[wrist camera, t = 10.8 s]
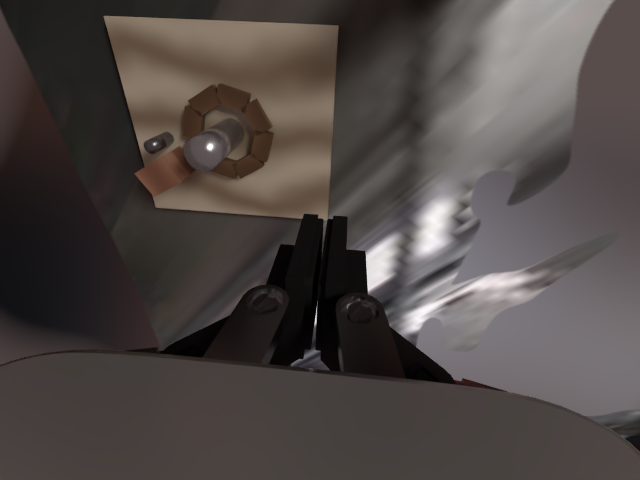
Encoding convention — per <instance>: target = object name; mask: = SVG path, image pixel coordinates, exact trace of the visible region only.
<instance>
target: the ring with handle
mask: <svg viewBox="0 0 640 480" xmlns="http://www.w3.org/2000/svg"><path fill="white" fill-rule="evenodd" d="M250 97H251V93H249V92H246V91H243V90H240V89H237V88H234V87H231V86H228V85H225V84H222V83H221V84H218V86H217V87H216V85H215V84H213V85H210V86H209V87H207V88H206V89H204V90H203V91H201V92H200V93H198V94H197V95H195V96H194V97H192V98H191V99H189V100H188V102H189V104H190V105H187V106H185V108H184V125H183V136H185V137H188V138H193V137H195V136H196V135H198V134H200V133H201V132H203V131H204V126H205V115H206V113H208V112H209V111H211V110H213V109H214V108H216V107H217V106H219V105H222V106H225V107H228V108H231V109H234V110H237V111H240V112H242V113H243V115H244V117H245V118H246V120H247V122H248V123H249V125H250V126H251V128H252V130H253V131H254V133H255V134H254V140H253V145H252V151H251V153H250V154H248V155H246V156H244V157H242V158H241V159H239V160H237V161H236V160H233V159H230V158H227V157H225V158H224V159H223V160H222V161H221V162H220V163H219V164H218V165H217V166H216V167H215V168H213V169H212V170H210V172H214V173H217V174H220V175H223V176H226V177H230V178H233V179H235V178H236V177H237V176H239V177H240V179H241V178H243V177H245V176H247V175H249V174H251V173H253V172H255V171H256V170H258V169H260V168H262V167H263V166H264V165H265V163H264V162H267V161H268V159H269V154H270V150H271V145H272V141H273V136H274V133H273V132H270V131H267V130H269V129H271V128H272V127H273V125H272V124H271V122H270V120H269V118H268V117H267V115H266V113H265V111H264V110H263V108H262V106H261V105H260V103H259V101H258V99H257V98H256V99H255V100H253V101H251V102H250ZM186 142H187V141H186ZM186 142H185V143H186ZM195 170H196V169H195V168H193V167H192V166H191V165H190V164H189V163H188V161H187V160H186V158H185V155H184V147H183V148H181V146H179V147H177V148H175V149H174V150H172V151H171V152H169V153H167V154H166V155H164V156H162V157H161V158H159V159H157V160H156V161H154V162H152V163H151V164H149V165H148V166H146V167H144V168H143V169H141V170H139V171H138V172H136V173H135V175H136V176H137V177H138V178H139V180H140V181H141V182H142V183H143V184H144V186H145V187H146V188H147V189H148V190H149V191H150V193H151V194H152V195H153V196H154V197H155V196H157V195H159V194H161V193H163V192H164V191H166V190H168V189H170V188H171V187H173V186H175V185H177V184H179V183H180V182H182V181H183V180H184V179H185V178H187V177H188V176H189V175H190V174H192V173H193V172H194V171H195Z"/></svg>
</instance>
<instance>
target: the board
mask: <svg viewBox="0 0 640 480" xmlns="http://www.w3.org/2000/svg"><path fill="white" fill-rule="evenodd" d="M104 19H105V23H106V27H107V30H108V34H109V38H110V41H111V45H112V49H113V52H114V56H115V60H116V63H117V67H118V71H119V74H120V78H121V82H122V85H123V89H124V93H125V96H126V100H127V104H128V107H129V111H130V115H131V118H132V122H133V126H134V129H135V133H136V137H137V140H138V144H139V148H140V151H141V155H142V159H143V162H144V166H145V167H146V166H148V165H149V164H151V163H152V162H154V161H156V160H157V159H159V158H161V157H162V156H164V155H166V154H167V153H169V152H171V151H172V150H174V149H175V148H177V147H179V146H181V148H183V147H184V146H185V144H186V143H185V142H186V141H188V140H190V139H191V138H188V137H185V136H183V125H184V108H185V106H187V105H190V104H189V102H188V100H189V99H191V98H192V97H194V96H195V95H197V94H198V93H200V92H201V91H203V90H204V89H206V88H207V87H209V86H210V85H213V84H215V85H216V87H217V86H218V84H221V83H222V84H225V85H228V86H231V87H234V88H237V89H240V90H243V91H246V92H249V93H251V97H250V102H251V101H253V100H255V99H256V98H257V99H258V101H259V103H260V105H261V106H262V108H263V110H264V111H265V113H266V115H267V117H268V118H269V120H270V122H271V124H272V125H273V127H272V128H271V129H269V130H267V131H270V132H273V133H274V136H273V141H272V145H271V150H270V154H269V159H268V161H267V162H264V163H265V165H264V166H263V167H262V168H260V169H258V170H256V171H255V172H253V173H251V174H249V175H247V176H245V177H243V178H241V179H240V177H239V176H237V177H236V178H235V179H233V178H230V177H226V176H223V175H220V174H217V173H214V172H210V171H199V170H197V169H196V170H195V171H194V172H193V173H192V174H190V175H189V176H188V177H187V178H185V179H184V180H183V181H182V182H180V183H179V184H177V185H175V186H173V187H171V188H170V189H168V190H166V191H164V192H163V193H161V194H159V195H157V196H155V197H154V196H153V199H154V203H155V206H156V208H168V209H181V210H194V211H208V212H221V213H234V214H247V215H260V216H274V217H287V218H300V219H303V215H304V214H318V218H322V219H323V220H326V221H327V219H328V206H329V188H330V171H331V153H332V135H333V117H334V100H335V82H336V64H337V46H338V29H339V26H338V25H316V24H292V23H267V22H242V21H217V20H192V19H168V18H143V17H118V16H104ZM225 118H232V119H235V120H237V121H238V122H239V123H240V124H241V125H242V127H243V129H244V133H245V136H244V140H243V142H242V143H241V144H240V145H239V146H238V147H236V148H235V149H234V150H233V151H232V152H231V153H230V154H229V155H228V156H227V158H230V159H233V160H236V161H237V160H239V159H241V158H242V157H244V156H246V155H248V154H250V153H251V151H252V145H253V140H254V134H255V133H254V131H253V130H252V128H251V126H250V125H249V123H248V122H247V120H246V118H245V117H244V115H243V113H242V112H240V111H237V110H234V109H231V108H228V107H225V106H222V105H219V106H217V107H216V108H214V109H213V110H211V111H209V112H208V113H206V115H205V126H204V131H205V130H206V129H208V128H209V127H211V126H213V125H214V124H216V123H218V122H219V121H221V120H223V119H225ZM163 132H169V133H171V134H172V135H173V137H174V142H173V143H172V144H171V145H169V146H167V147H165V148H164V149H162V150H160V151H158V152H157V153H155V154H150V153H148V152H147V151H146V150H145V149H144V142H145V141H147V140H149V139H151V138H153V137H155V136H157V135H159V134H161V133H163Z"/></svg>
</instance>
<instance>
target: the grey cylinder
mask: <svg viewBox="0 0 640 480" xmlns="http://www.w3.org/2000/svg"><path fill="white" fill-rule="evenodd" d="M244 136H245V133H244V129H243V127H242V125H241V124H240V123H239V122H238V121H237V120H235V119H232V118H225V119H223V120H221V121H219V122H218V123H216V124H214V125H213V126H211V127H209V128H208V129H206V130H205V131H203V132H201V133H200V134H198V135H196V136H195V137H193V138H191V139H190V140H188V141H187V142H186V144H185V146H184V155H185V158H186V160H187V161H188V163H189V164H190V165H191V166H192V167H193V168H195V169H197V170H199V171H210V170H212V169H213V168H215V167H216V166H217V165H218V164H219V163H220V162H221V161H222V160H223V159H224V158H225V157H227V156H228V155H229V154H230V153H231V152H232V151H233V150H234V149H235V148H236V147H238V146H239V145H240V144H241V143H242V142H243V140H244ZM173 142H174V137H173V135H172V134H171V133H169V132H163V133H161V134H159V135H157V136H155V137H153V138H151V139H149V140H147V141H145V142H144V149H145V150H146V151H147V152H148V153H150V154H155V153H157V152H158V151H160V150H162V149H164V148H165V147H167V146H169V145H171V144H172V143H173Z"/></svg>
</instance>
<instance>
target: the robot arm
mask: <svg viewBox="0 0 640 480" xmlns="http://www.w3.org/2000/svg"><path fill="white" fill-rule="evenodd" d="M322 239H323V219H322V218H318V214H304V215H303V219H302V222H301V226H300V229H299V233H298V236H297V240H296V243H295V245H284V244H281V245H280V247H279V250H278V253H277V256H276V258H275V261H274V264H273V267H272V269H271V272H270V275H269V278H268V281H267V283H266V285H260V286H257V287H254V288H252V289H250V290H249V291H247V292H246V293H245V294H244V295H243V297H242V298H241V300H240V301H239V303H238V304H237V306H236V307H235V309H234V310H233V312H232V313H231V315H230V316H228V317H225V318H223V319H221V320H219V321H217V322H215V323H213V324H211V325H209V326H207V327H205V328H203V329H201V330H199V331H197V332H195V333H193V334H191V335H189V336H187V337H185V338H183V339H181V340H179V341H176V342H175V343H173V344H171V345H170V346H168V347H167V348H166V349H165V350H164V351H159V349H158V347H155V348H145V349H133V350H123V351H118V350H97V349H96V350H95V349H92V350H67V351H57V352H48V353H43V354H38V355H33V356H28V357H24V358H20V359H17V360H13V361H10V362H7V363H5V364H1V365H0V480H640V452H639V451H638V450H637V449H636V448H635V447H634V446H633V445H632V444H631V443H629V442H628V441H627V440H625V439H624V438H623V437H621V436H620V435H618V434H617V433H616V432H614V431H612V430H611V429H609V428H607V427H605V426H604V425H602V424H600V423H598V422H596V421H594V420H592V419H590V418H588V417H586V416H584V415H581V414H579V413H576V412H574V411H572V410H569V409H567V408H564V407H562V406H559V405H556V404H553V403H550V402H547V401H543V400H540V399H537V398H533V397H529V396H524V395H520V394H515V393H510V392H507V391H504V390H500V389H497V388H493V387H490V386H487V385H483V384H480V383H477V382H473V381H470V380H467V379H464V378H463V379H462V381H461V382H460V381H456V380H454V379H453V378H452V377H451V375H450V374H449V373H448V372H447V371H446V370H445V369H443V368H442V367H441V366H439V365H438V364H437V363H436V362H434V361H433V360H432V359H430V358H429V357H428V356H427V355H425V354H424V353H423V352H421V351H420V350H419V349H418V348H416V347H415V346H414V345H413V344H411V343H410V342H409V341H407V340H406V339H405V338H404V337H402V336H401V335H400V334H398V333H397V332H396V331H395V330H393V329H392V328H391V327H390V326H389V323H388V320H387V317H386V314H385V311H384V308H383V306H382V304H381V303H380V302H379V301H378V300H377V299H376V298H374V297H372V296H370V295H368V290H367V272H366V254H365V251H358V250H346V243H347V217H344V216H333V219H328V220H327V227H326V234H325V241H324V247H323V254H322ZM321 260H322V261H321ZM317 301H318V303H317ZM316 308H317V326H316V350H319V351H321V361H322V362H323V363H324V364H325V365H326V366H327V367H328V368H329V369H330V371H329V370H319V369H310V368H300V367H291V364H292V363H293V362H295V361H296V360H298V359H303V357H304V351H305V349H309V350H310V349H311V344H312V337H313V329H314V322H315V315H316Z"/></svg>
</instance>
